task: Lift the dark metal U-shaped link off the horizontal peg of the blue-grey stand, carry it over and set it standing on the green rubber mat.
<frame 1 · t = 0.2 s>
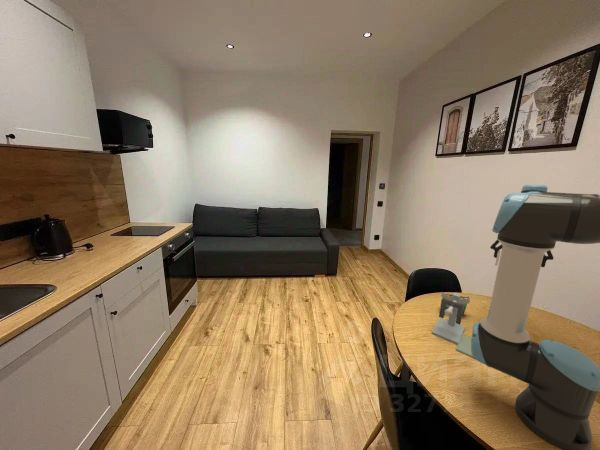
hand: (516, 268, 106), 28 cm above the table, fingers open, 13 cm apart
link: (449, 319, 104), point 7 cm above the table, touching stand
stand: (448, 331, 107), on the table
food container: (454, 315, 119), on the table
mat: (473, 348, 97), on the table
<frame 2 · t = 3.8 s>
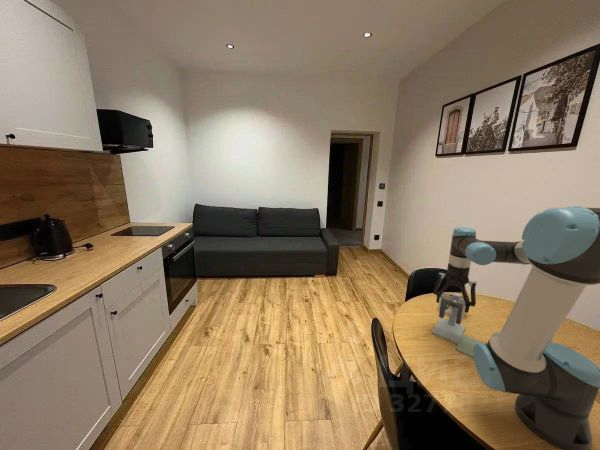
hand: (450, 313, 103), 10 cm above the table, fingers closed on link, 8 cm apart
link: (449, 319, 104), point 7 cm above the table, touching gripper, stand
everything else where it was.
when the fingers open (5 cm above the table, at t = 8.5 s): link drops 2 cm, resting on mat.
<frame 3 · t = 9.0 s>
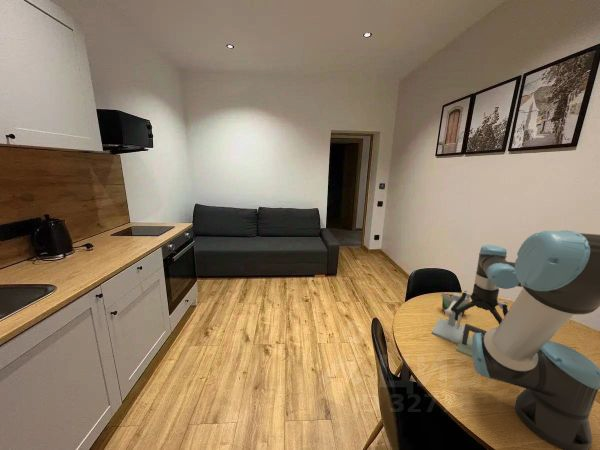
hand: (477, 335, 95), 6 cm above the table, fingers open, 12 cm apart
link: (473, 347, 97), point 1 cm above the table, touching mat
everything else where it was.
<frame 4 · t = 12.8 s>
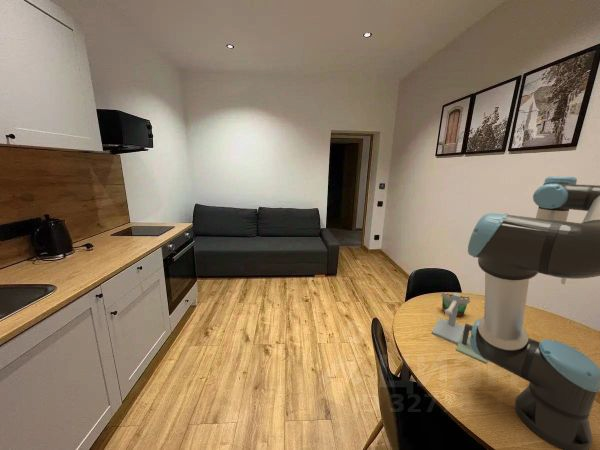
hand: (536, 276, 89), 32 cm above the table, fingers open, 13 cm apart
nothing on the table moved.
at the end: link inside the target area on the mat (0.0 cm from its centre), point 0.6 cm above the mat's base; link tilted 0°; link touching mat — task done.
